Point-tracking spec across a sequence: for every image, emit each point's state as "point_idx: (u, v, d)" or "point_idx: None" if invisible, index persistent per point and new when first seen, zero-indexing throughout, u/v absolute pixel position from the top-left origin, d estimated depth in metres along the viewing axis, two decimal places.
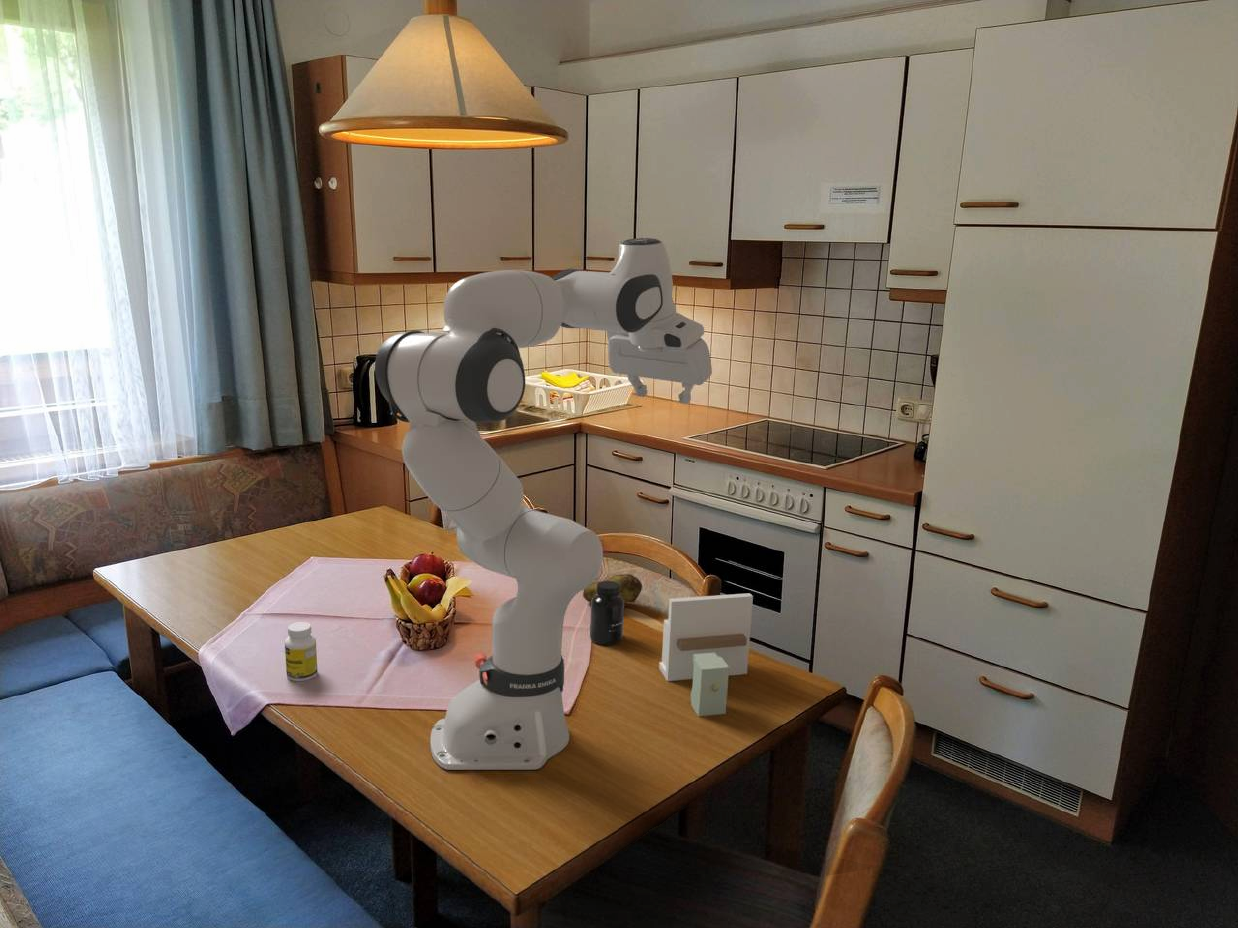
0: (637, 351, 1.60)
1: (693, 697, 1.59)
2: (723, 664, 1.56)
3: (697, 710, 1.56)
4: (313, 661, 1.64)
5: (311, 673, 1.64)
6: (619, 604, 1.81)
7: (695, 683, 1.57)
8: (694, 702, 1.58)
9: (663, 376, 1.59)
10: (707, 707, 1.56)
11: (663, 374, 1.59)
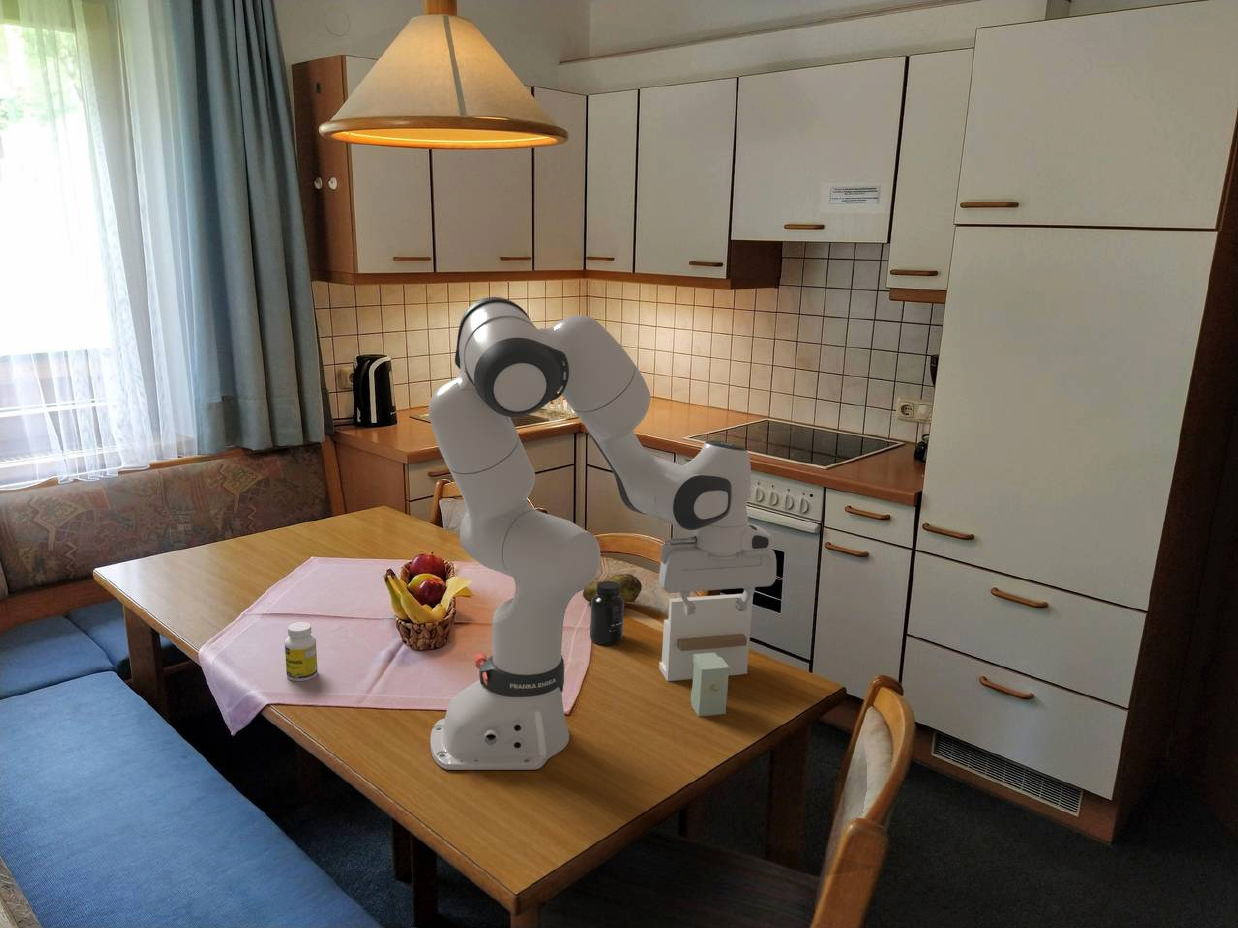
0: (705, 562, 1.49)
1: (693, 697, 1.59)
2: (723, 664, 1.56)
3: (697, 710, 1.56)
4: (313, 661, 1.64)
5: (311, 673, 1.64)
6: (619, 604, 1.81)
7: (695, 683, 1.57)
8: (694, 702, 1.58)
9: (732, 584, 1.51)
10: (707, 707, 1.56)
11: (732, 582, 1.51)
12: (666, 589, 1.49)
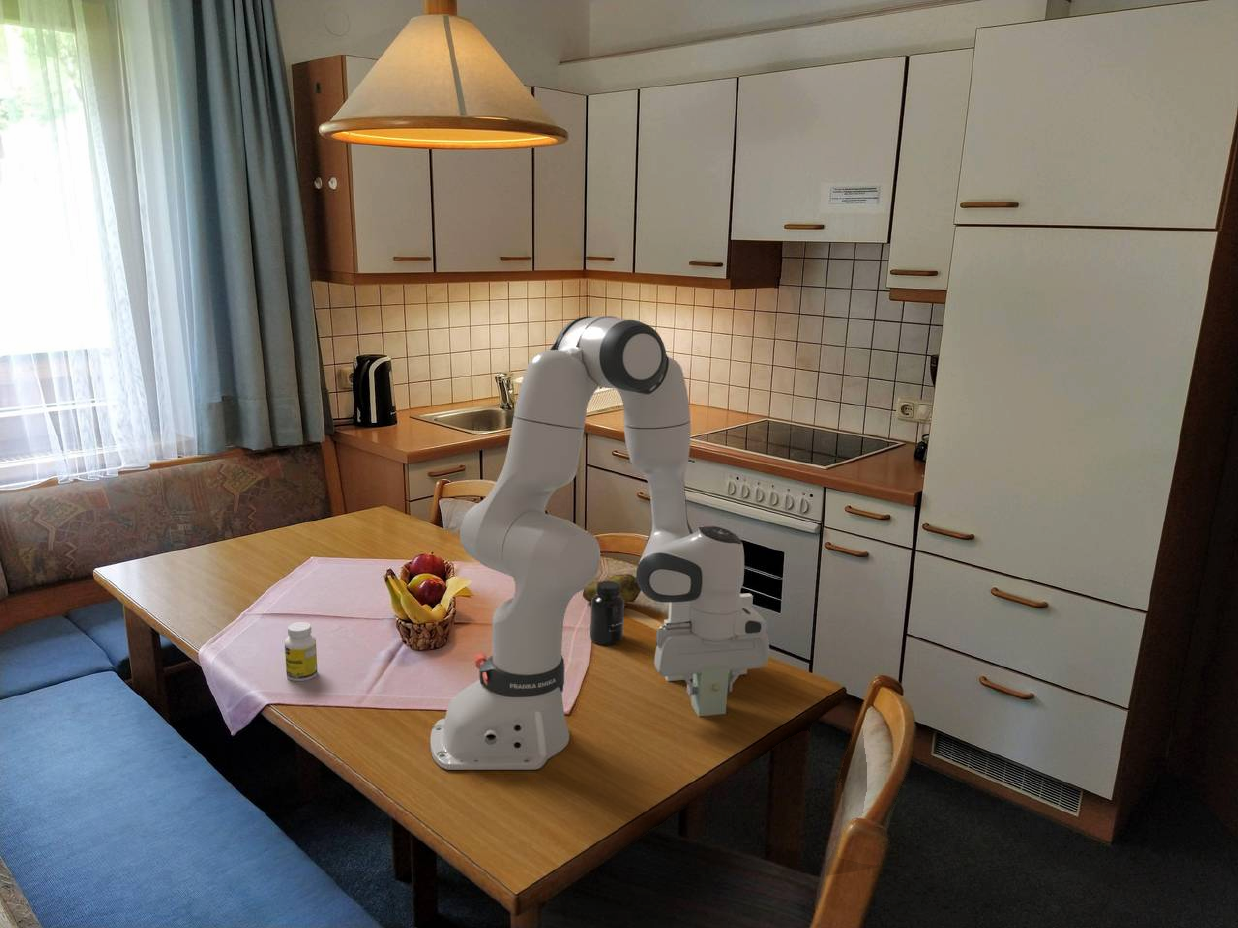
0: (699, 646, 1.53)
1: (693, 697, 1.59)
2: None
3: (698, 710, 1.56)
4: (313, 661, 1.64)
5: (311, 673, 1.64)
6: (619, 604, 1.81)
7: None
8: (694, 702, 1.58)
9: (725, 666, 1.55)
10: (707, 707, 1.56)
11: (726, 664, 1.55)
12: (661, 673, 1.53)
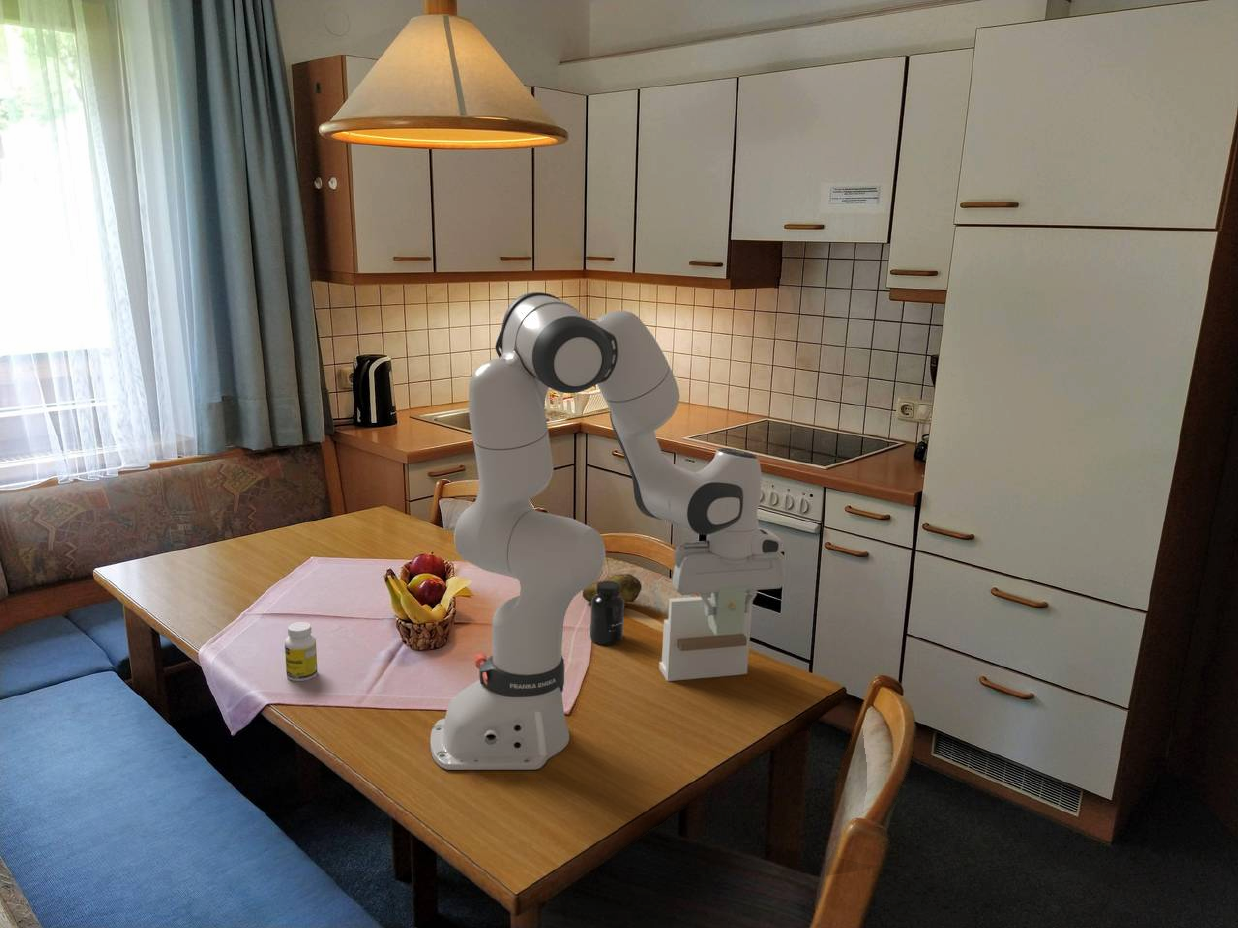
0: (717, 565, 1.55)
1: (710, 618, 1.61)
2: None
3: (715, 630, 1.59)
4: (313, 661, 1.64)
5: (311, 673, 1.64)
6: (619, 604, 1.81)
7: (713, 603, 1.59)
8: (711, 622, 1.60)
9: (743, 586, 1.57)
10: (724, 627, 1.58)
11: (743, 584, 1.57)
12: (680, 591, 1.55)
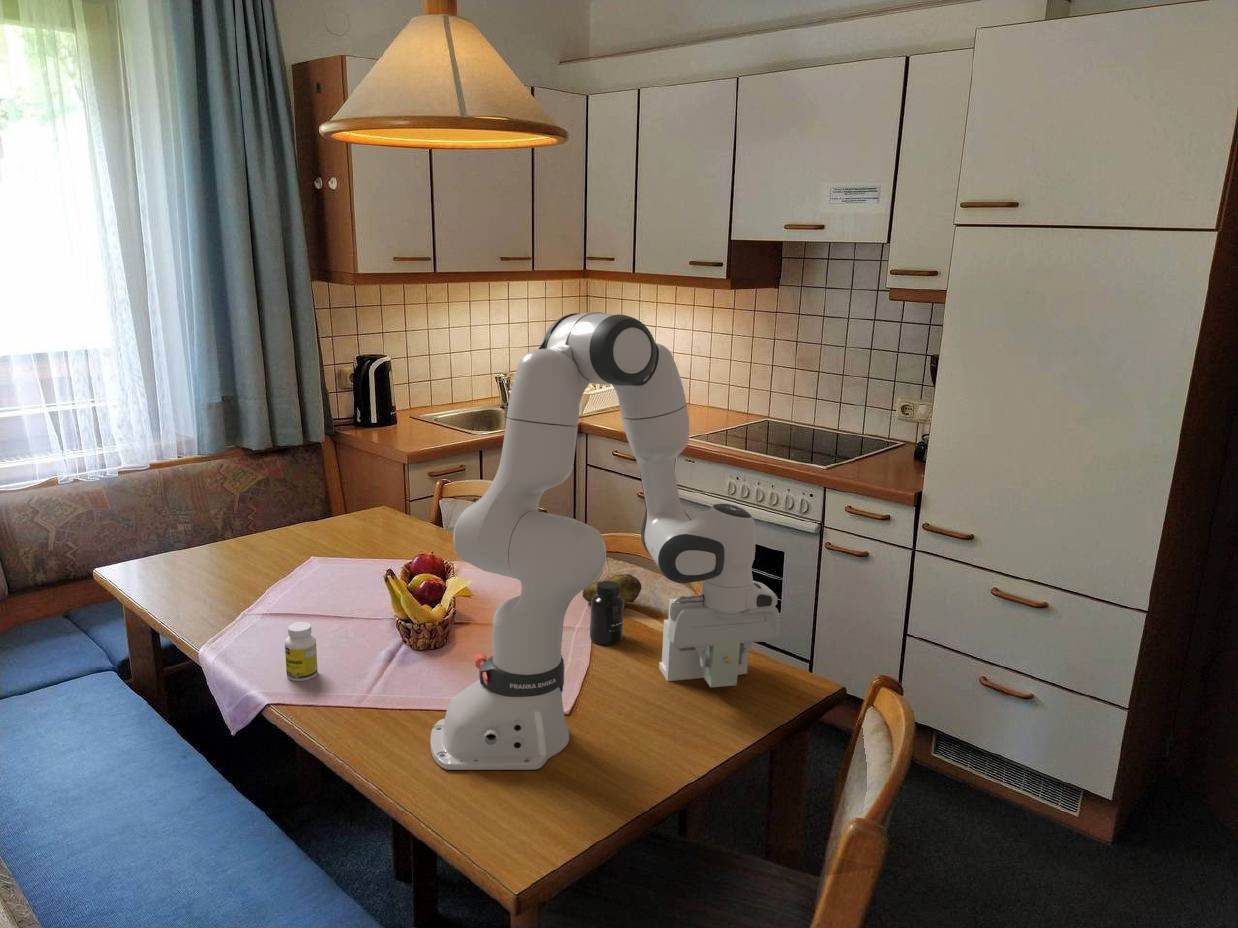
0: (712, 619, 1.58)
1: (705, 669, 1.64)
2: None
3: (710, 682, 1.62)
4: (313, 661, 1.64)
5: (311, 673, 1.64)
6: (619, 604, 1.81)
7: (708, 655, 1.62)
8: (706, 674, 1.63)
9: (737, 639, 1.60)
10: (719, 678, 1.61)
11: (738, 637, 1.60)
12: (675, 645, 1.58)
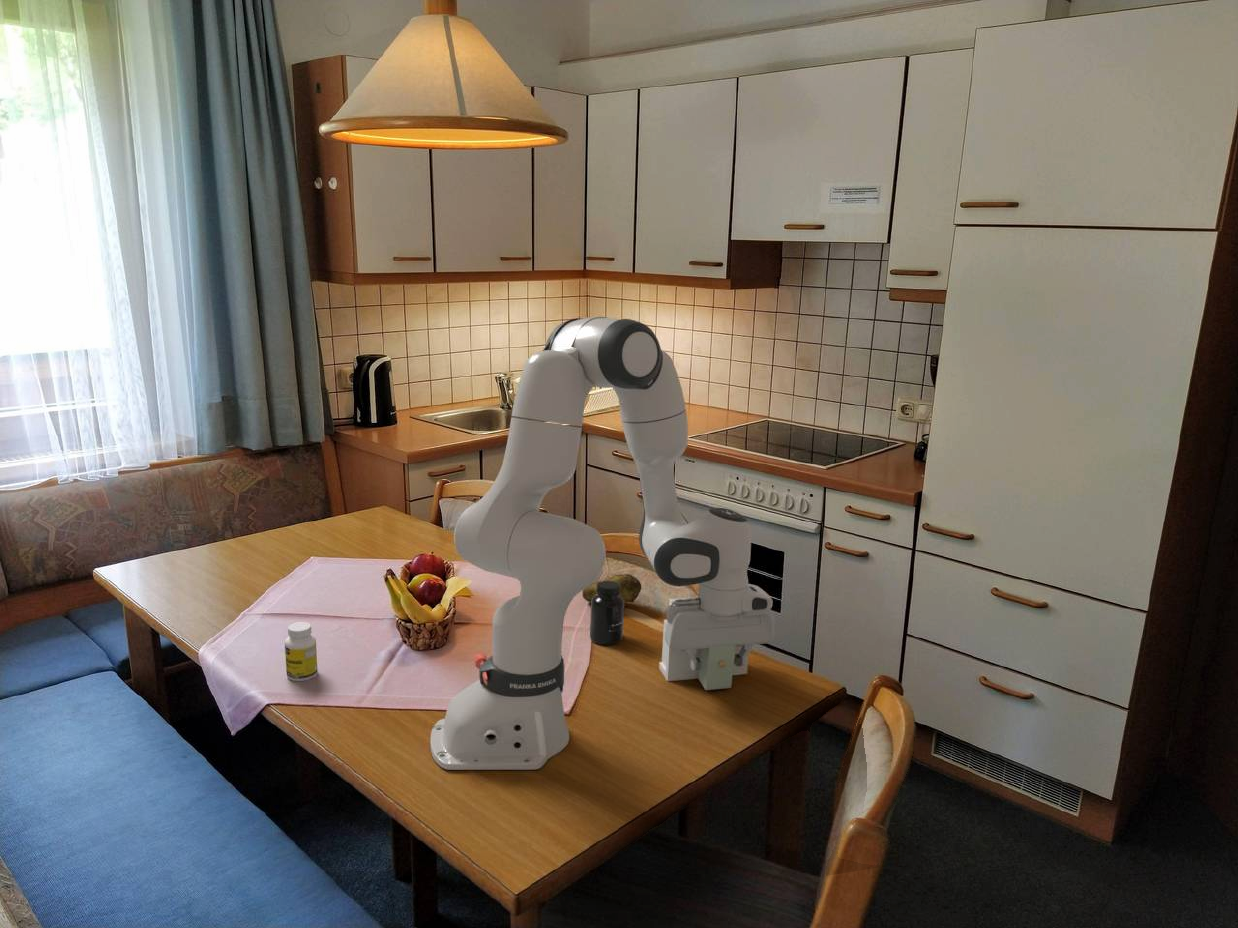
0: (708, 622, 1.60)
1: (700, 671, 1.66)
2: None
3: (704, 684, 1.64)
4: (313, 661, 1.64)
5: (311, 673, 1.64)
6: (619, 604, 1.81)
7: (703, 658, 1.64)
8: (701, 676, 1.66)
9: (733, 642, 1.62)
10: (714, 682, 1.64)
11: (733, 640, 1.62)
12: (672, 647, 1.60)
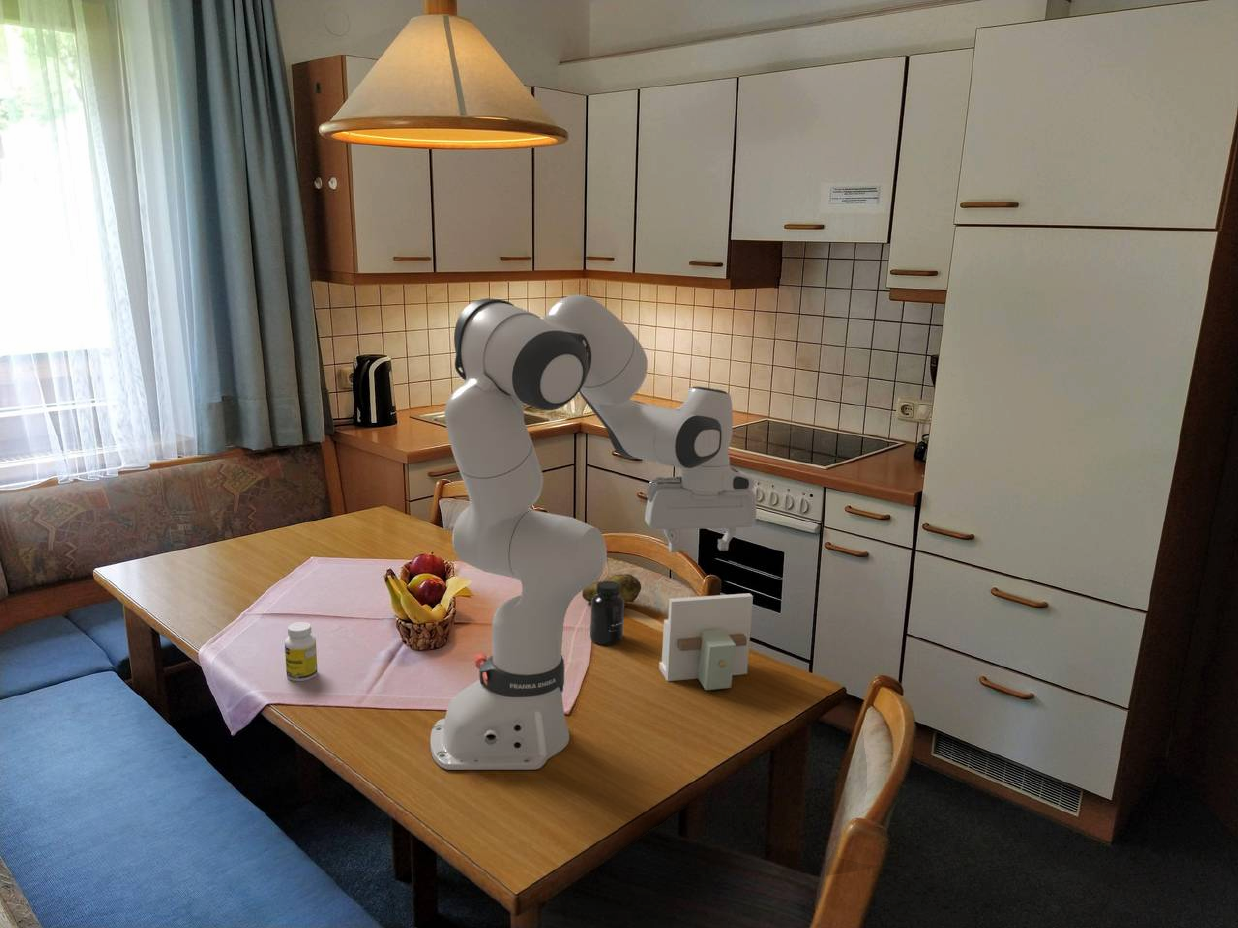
0: (689, 501, 1.59)
1: (700, 671, 1.66)
2: (730, 641, 1.63)
3: (704, 684, 1.64)
4: (313, 661, 1.64)
5: (311, 673, 1.64)
6: (619, 604, 1.81)
7: (703, 658, 1.64)
8: (701, 676, 1.66)
9: (714, 523, 1.61)
10: (714, 682, 1.64)
11: (714, 521, 1.61)
12: (651, 525, 1.58)
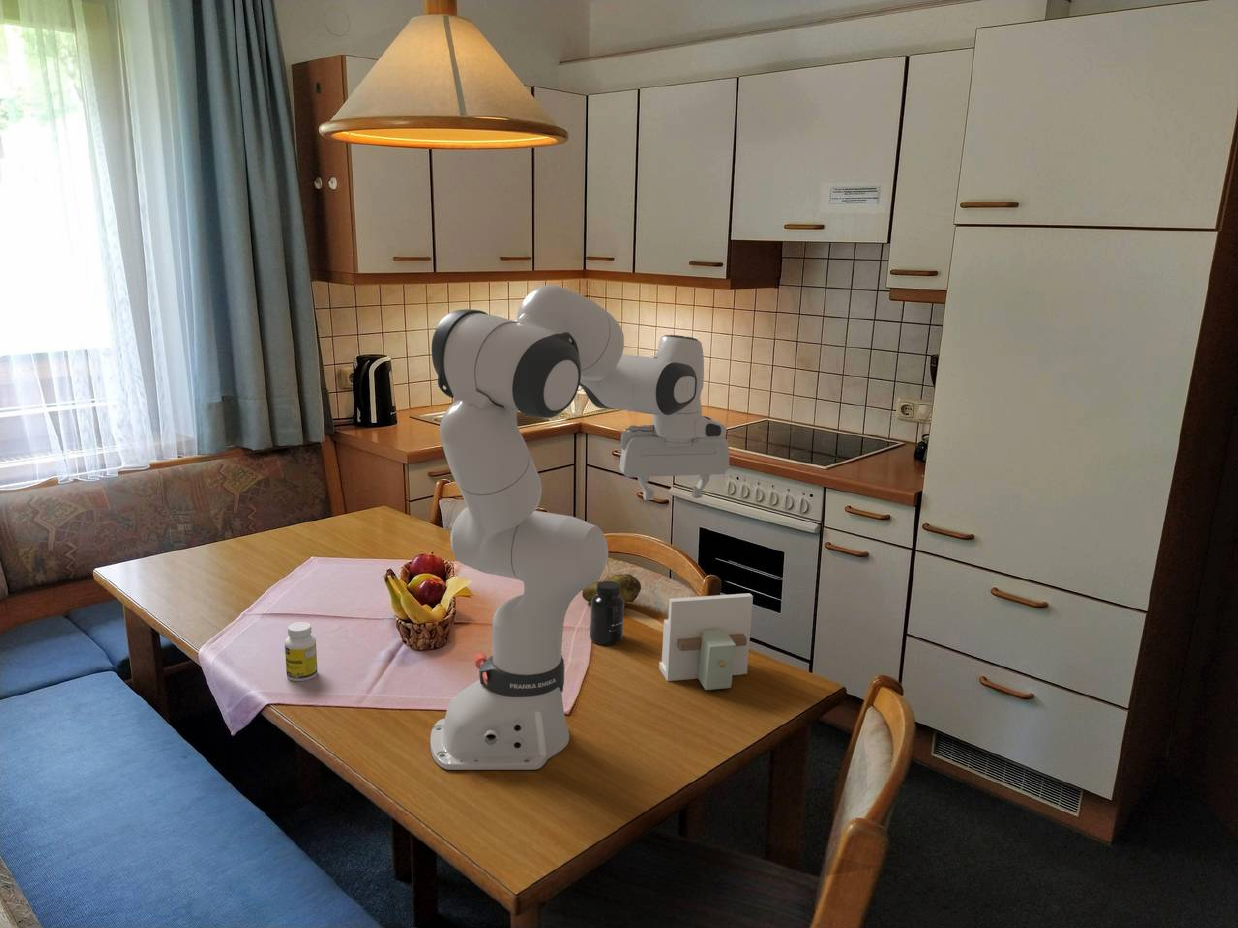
0: (662, 448, 1.61)
1: (700, 671, 1.66)
2: (730, 641, 1.63)
3: (704, 684, 1.64)
4: (313, 661, 1.64)
5: (311, 673, 1.64)
6: (619, 604, 1.81)
7: (703, 658, 1.64)
8: (701, 676, 1.66)
9: (687, 471, 1.63)
10: (714, 682, 1.64)
11: (688, 468, 1.63)
12: (626, 473, 1.60)
